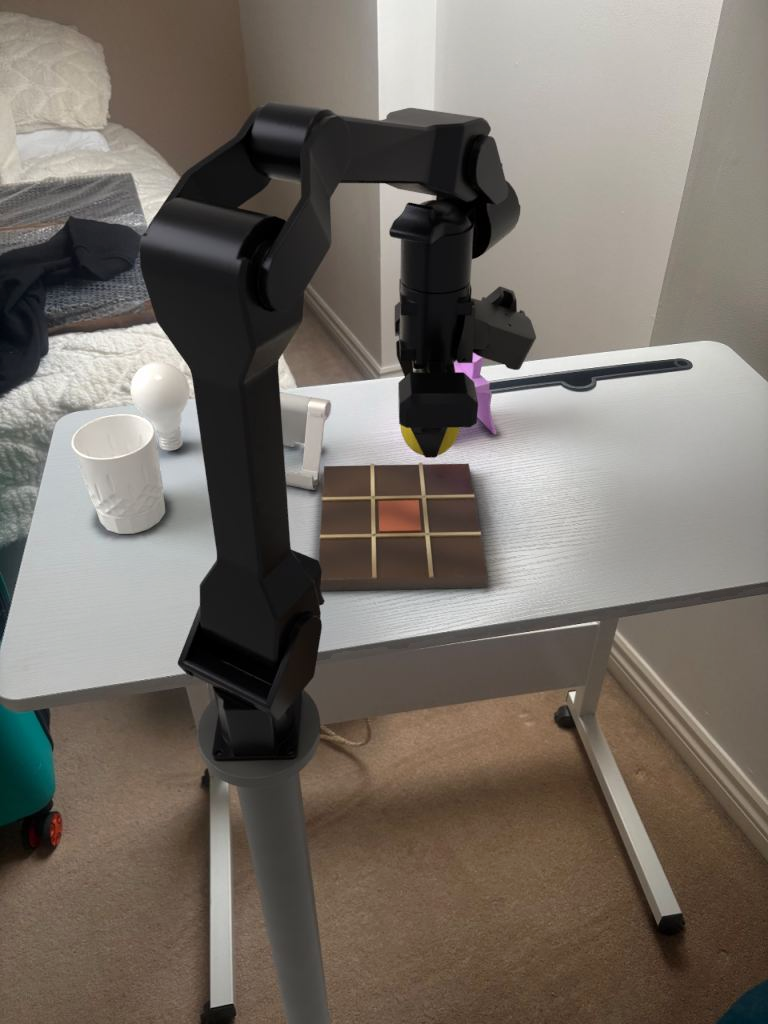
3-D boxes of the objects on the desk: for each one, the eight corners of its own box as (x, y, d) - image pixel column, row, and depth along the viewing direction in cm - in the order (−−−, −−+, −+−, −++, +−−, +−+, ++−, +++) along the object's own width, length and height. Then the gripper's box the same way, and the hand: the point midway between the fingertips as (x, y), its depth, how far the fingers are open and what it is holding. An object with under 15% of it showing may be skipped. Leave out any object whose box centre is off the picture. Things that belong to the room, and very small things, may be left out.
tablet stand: (240, 480, 92) (231, 416, 87) (268, 441, 98) (261, 379, 92) (313, 494, 90) (308, 429, 85) (337, 453, 96) (334, 391, 90)
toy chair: (404, 419, 101) (406, 305, 92) (468, 404, 104) (476, 291, 94) (434, 456, 95) (439, 338, 86) (501, 438, 98) (513, 322, 88)
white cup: (128, 549, 83) (106, 469, 77) (79, 519, 87) (54, 440, 81) (186, 509, 88) (171, 431, 82) (138, 482, 92) (119, 405, 85)
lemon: (459, 441, 81) (464, 368, 75) (456, 475, 76) (461, 400, 71) (402, 438, 81) (403, 365, 76) (396, 471, 77) (397, 396, 72)
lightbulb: (134, 460, 95) (114, 376, 88) (159, 430, 100) (141, 348, 93) (186, 467, 94) (169, 383, 87) (208, 436, 99) (194, 354, 92)
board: (486, 587, 79) (488, 574, 78) (318, 591, 79) (317, 578, 77) (467, 474, 93) (468, 461, 92) (324, 476, 92) (323, 464, 91)
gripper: (553, 331, 60) (530, 499, 70) (518, 236, 75) (502, 386, 85) (400, 332, 60) (398, 501, 70) (394, 236, 75) (393, 387, 85)
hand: (428, 438), depth 77 cm, fingers closed on lemon, 5 cm apart
